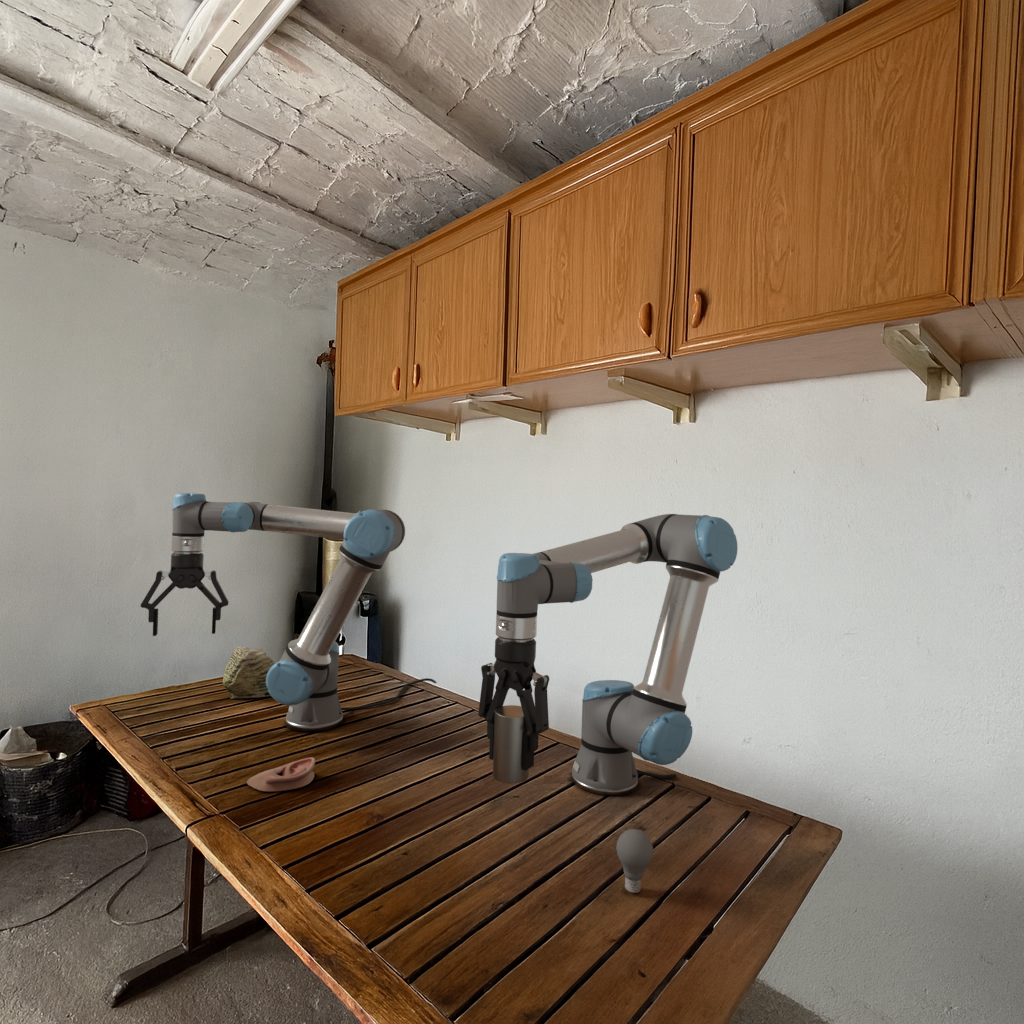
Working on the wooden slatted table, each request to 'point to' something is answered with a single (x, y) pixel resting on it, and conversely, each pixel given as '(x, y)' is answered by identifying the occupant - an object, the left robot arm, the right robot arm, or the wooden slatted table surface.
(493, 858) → the wooden slatted table surface
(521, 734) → the canister
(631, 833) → the light bulb
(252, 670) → the fossil
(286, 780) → the anatomical model
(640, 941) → the wooden slatted table surface
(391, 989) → the wooden slatted table surface
